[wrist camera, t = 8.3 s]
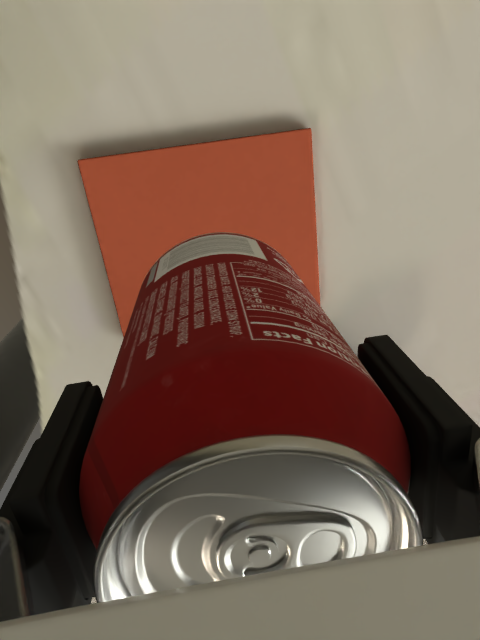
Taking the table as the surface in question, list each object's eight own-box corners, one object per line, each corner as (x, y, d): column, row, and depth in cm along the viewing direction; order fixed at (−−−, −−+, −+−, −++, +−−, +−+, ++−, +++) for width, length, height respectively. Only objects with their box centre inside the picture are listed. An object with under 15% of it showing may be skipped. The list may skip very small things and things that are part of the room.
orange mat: (125, 337, 31) (124, 341, 30) (79, 159, 26) (76, 160, 25) (318, 307, 31) (320, 311, 31) (309, 128, 26) (311, 127, 26)
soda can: (135, 224, 16) (21, 411, 5) (309, 231, 17) (514, 407, 6) (141, 378, 19) (71, 711, 8) (291, 378, 20) (412, 682, 9)
